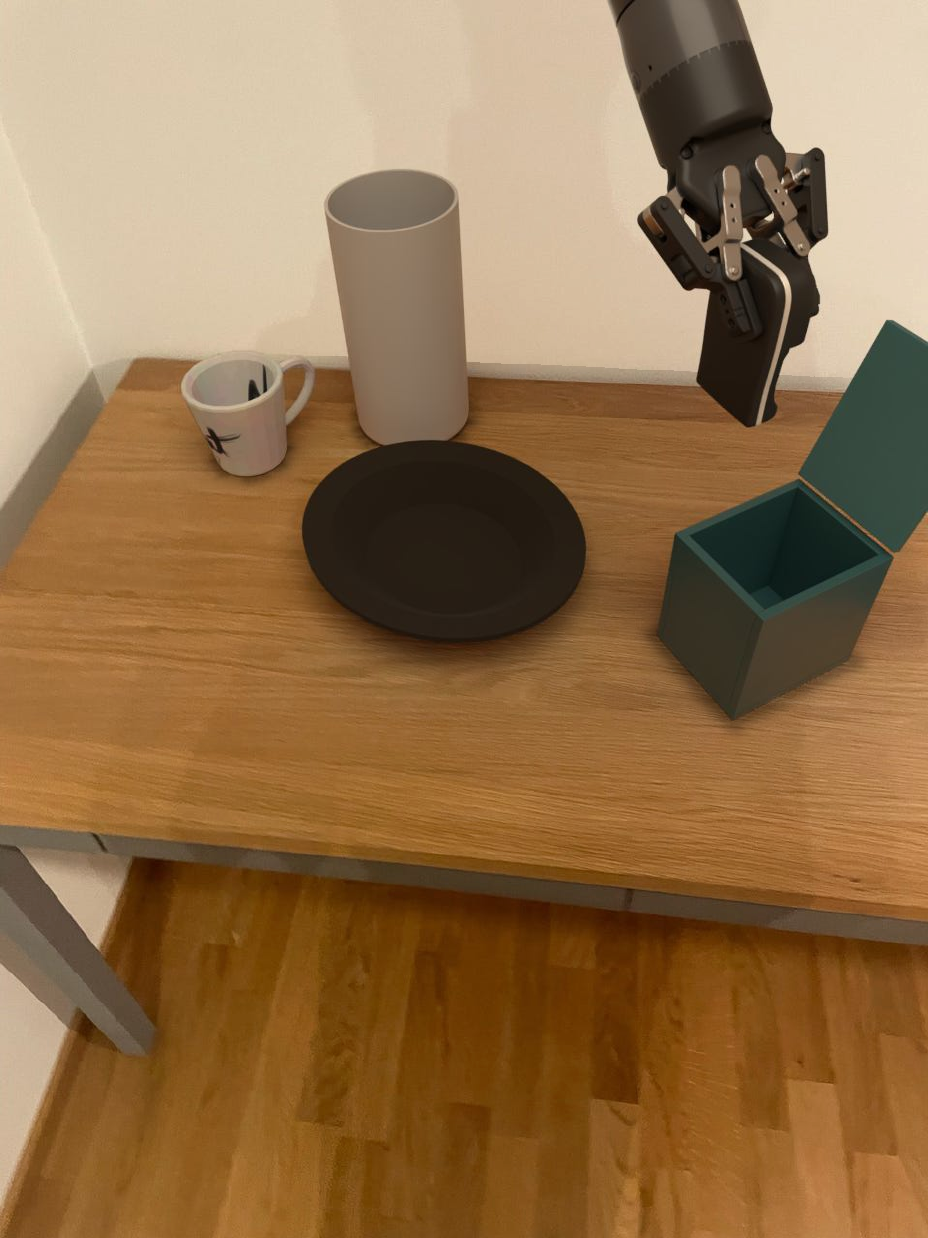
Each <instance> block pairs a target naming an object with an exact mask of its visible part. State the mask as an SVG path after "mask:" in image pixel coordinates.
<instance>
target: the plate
mask: <svg viewBox="0 0 928 1238" xmlns="http://www.w3.org/2000/svg"><path fill="white" fill-rule="evenodd" d="M584 530H585V529H584V527H583V524H582V521H581V519H580V516H579V515H578V513H577V511H576V509H575V507H574V506H573V504H572V502H571V501H570V500H569V499H568V497H567V496H566V495H565V493H563V491H562V490H561V489H560V488H559V487H558V486H557V485H556V484H555V483H553V482H552V481H551V480H550V479H549V478H548V477H546V476H545V475H544V474H542V473H541V472H540V471H538V470H536V468H533V467H532V466H531V465H529V464H527V463H525V462H523V461H521V460H519V459H517V458H515V457H513V456H511V455H508V454H506V453H504V452H500V451H497V450H496V449H492V448H488V447H486V446H482V445H477V444H474V443H473V444H472V443H468V442H461V441H453V440H447V441H445V440H417V441H406V442H400V443H394V444H389V445H385V446H384V445H381V446H378V447H375V448H372V449H369V450H366V451H364V452H361V453H359V454H357V455H355V456H352V457H351V458H349V459H347V460H346V461H344V462H342V463H341V464H340V465H338V466H337V467H335V468H334V469H333V470H331V471H330V472H329V473H327V475H325V477H324V478H322V480H321V481H320V482H319V483H318V485H317V486H316V487H315V488H314V490H313V492H312V493H311V495H310V497H309V499H308V501H307V503H306V505H305V508H304V511H303V515H302V522H301V537H302V544H303V549H304V553H305V555H306V559H307V562H308V564H309V566H310V568H311V571H312V572H313V574H314V576H315V577H316V579H317V581H318V582H319V584H320V585H321V586H322V587H323V588H324V590H325V591H326V592H327V593H328V594H329V595H330V596H331V597H332V598H333V599H334V600H335V601H336V602H337V603H338V604H340V605H341V606H342V607H343V608H345V609H346V610H347V611H349V612H350V613H351V614H353V615H354V616H356V617H358V618H360V619H362V620H363V621H365V622H366V623H369V624H370V625H373V626H375V627H377V628H380V629H381V630H383V631H386V632H388V633H389V632H390V633H392V634H395V635H398V636H402V637H405V638H410V639H414V640H418V641H423V642H430V643H439V644H476V643H485V642H492V641H497V640H501V639H504V638H509V637H513V636H515V635H518V634H521V633H523V632H525V631H528V630H530V629H532V628H535V627H537V626H538V625H540V624H541V623H543V622H545V621H547V620H549V618H551V617H552V616H553V615H554V614H556V613H557V612H558V611H559V610H560V609H561V608H563V607H564V606H565V605H566V603H567V602H568V601H569V600H570V599H571V597H572V596H573V595H574V593H575V592H576V590H577V588H578V586H579V584H580V582H581V579H582V578H583V573H584V570H585V565H586V555H587V541H586V535H585V531H584Z"/></svg>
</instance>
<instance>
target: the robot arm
mask: <svg viewBox="0 0 928 1238" xmlns="http://www.w3.org/2000/svg"><path fill="white" fill-rule="evenodd" d="M606 3H607V5H608V7H609V11H610V14H611V16H612V19H613V22H614V25H615V28H616V30H617V34H618V38H619V42H620V47H621V52H622V59H623V62H624V65H625V69H626V73H627V75H628V79H629V82H630V84H631V87H632V90H633V94H634V95H635V99H636V101H637V104H638V108H639V111H640V114H641V116H642V119H643V122H644V125H645V128H646V131H647V134H648V137H649V140H650V142H651V146H652V149H653V151H654V154H655V157H656V160H657V162H658V165H659V166H660V167H661V169H663V170H665V171H666V173H667V174H666V175H667V182H666V183H667V184H666V192H667V193H666V194H665V195H660V196H658V197H657V198H656V199H655V200H654V201H652V202H651V203H650V204H649V205H648V206H646V207H645V208H644V209H642V211H641V212H639V214H638V215H637V218H636V223H637V224H638V227H639V228H640V229H641V231H642V232H643V234H644V235H645V237H646V238H647V240H648V241H649V242H650V244H651V245H652V246H653V248H654V249H655V251H656V252H657V254H658V255H659V256H660V258H661V260H662V261H663V263H665V265H666V266H667V268H668V269H669V271H670V272H671V273H672V275H673V277H674V278H675V280H676V281H677V282H678V284H679V285H680V287H681V288H682V289H683V290H684V291H687V292H691V291H694V290H696V289H697V290H707V291H708V292H709V293H710V292H712V293H713V295H714V296H715V299H716V302H717V305H718V308H719V310H720V313H721V316H722V319H723V322H724V325H725V328H726V331H727V333H728V334H729V335H730V337H731V338H735V341H736V342H737V343H738V344H740V345H741V344H744V343H747V342H749V341H752V340H754V339H756V338H758V337H760V336H762V334H763V325H762V322H761V319H760V316H759V313H758V310H757V307H756V304H755V301H754V298H753V295H752V292H751V289H750V287H749V284H748V281H747V279H744V280H740V278H741V276H742V262H741V252H740V243H742V242H743V239H744V238H743V237H744V229H745V230H746V231H747V233H748V235H749V236H750V239H757V238H765V239H767V240H770V241H772V242H773V243H775V244H776V245H778V246H779V247H781V248H783V249H784V250H786V251H787V252H789V253H790V254H791V255H793V256H794V257H795V258H797V259H798V260H799V261H801V262H802V263H804V264H805V265H806V266H807V267H808V268H809V269H810V270H811V272H812V273H813V269H812V267H811V264H810V261H809V254H810V253H811V250H812V249H813V248H814V247H815V246H816V245H817V244H818V243H819V242H821V241H823V240H824V239H827V238H828V235H829V215H828V195H827V193H828V192H827V175H826V172H827V171H826V156H825V153H824V151H823V150H822V148H820V147H817V146H816V147H813V148H811V149H810V150H808V151H807V152H805V153H799V152H798V153H797V152H786V150H785V147H784V146H783V144H782V143H781V142H780V141H779V140H778V139H777V136H775V133H774V132H773V130H772V118H773V113H774V112H773V111H774V107H773V102H772V100H771V97H770V93H769V91H768V87H767V85H766V81H765V78H764V75H763V72H762V69H761V65H760V63H759V59H758V57H757V53H756V51H755V47H754V44H753V41H752V38H751V35H750V32H749V29H748V26H747V23H746V20H745V16H744V14H743V11H742V8H741V5H740V3H739V0H606ZM685 215H686V216H687V217H688V218H690V220H692V221H693V222H694V228H695V233H694V231H693V230H692V228H691V227H690V226H689V224H688V223H687V222H686V219H685ZM770 215H773V218H772V219H770V220H768V219H766V218H767V217H770ZM820 304H821V294H820V291H819V288H818V285H817V284H816V293H815V299H814V303H813V308H812V313H811V317H810V319H811V318H814V317H815V316H818V315H819V312H820V306H819V305H820Z"/></svg>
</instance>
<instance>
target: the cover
mask: <svg viewBox="0 0 928 1238" xmlns="http://www.w3.org/2000/svg"><path fill="white" fill-rule="evenodd" d="M797 475H798V476H799V477H800V478H802V479H803V480H804V481H805V482H807V483H808V484H809V485H811V486H812V487H813V488H814V489H815V490H816V491H818V492H819V493H820V494H822V496H824V497H825V498H826V499H827V500H829V502H831V503H832V504H833V505H835V506H836V507H837V508H838V509H840V510H841V511H842V513H844V514H845V515H847V516H848V517H849V518H850V519H852V520H853V521H854V522H855V523H856V524H858V526H859V527H861V528H863V529H864V530H865V531H866V532H868V533H869V534H870V535H871V536H872V537H874V538H875V539H876V540H877V541H878V542H880V543H881V544H882V545H883V546H884V547H885V548H887V549H888V550H889V551H890V552H892V553H893V554H896V553H899V552H901V551H902V549H903V548H904V546H905V545H906V543H907V541H908V540H909V539H910V537H911V536H912V534H913V533H914V532H915V530H916V529H917V528H918V526H919V525H920V523H921V522H922V520H923V519H924V517H925V516H926V515H927V513H928V341H927V340H926V339H924V338H922V337H921V336H919V335H918V334H916V333H914V332H913V331H911V330H910V329H908V328H907V327H905V326H903V325H902V324H901V323H899V322H898V321H895V320H893V319H886V320H885V321H884V323H883V325H882V327H881V329H880V330H879V332H878V334H877V335H876V337H875V339H874V341H873V342H872V344H871V346H870V348H869V349H868V351H867V352H866V354H865V356H864V358H863V360H862V362H861V363H860V365H859V366H858V367H857V370H856V372H855V373H854V375H853V377H852V378H851V380H850V382H849V384H848V386H847V387H846V389H845V391H844V393H843V395H842V396H841V398H840V399H839V402H838V403H837V405H836V406H835V408H834V410H833V412H832V413H831V415H830V417H829V419H828V421H827V422H826V424H825V426H824V427H823V429H822V431H821V433H820V434H819V436H818V438H817V439H816V441H815V443H814V445H813V446H812V448H811V450H810V452H809V453H808V455H807V457H806V459H805V460H804V462H803V464H802V466H801V467H800V469H799V471H798V472H797Z"/></svg>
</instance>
